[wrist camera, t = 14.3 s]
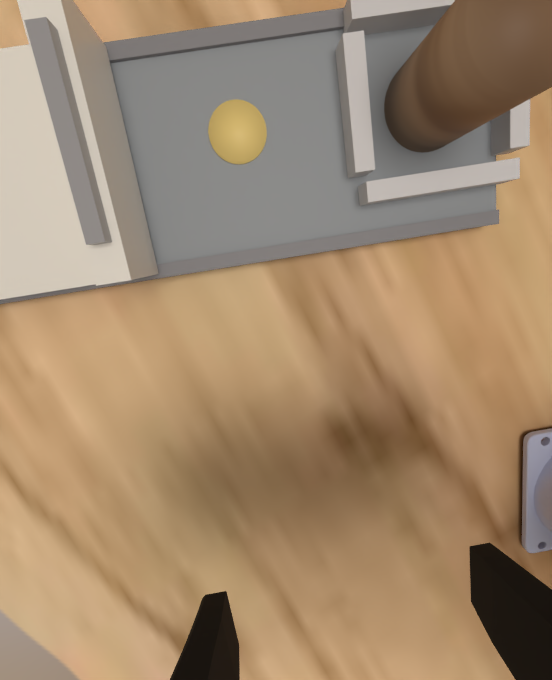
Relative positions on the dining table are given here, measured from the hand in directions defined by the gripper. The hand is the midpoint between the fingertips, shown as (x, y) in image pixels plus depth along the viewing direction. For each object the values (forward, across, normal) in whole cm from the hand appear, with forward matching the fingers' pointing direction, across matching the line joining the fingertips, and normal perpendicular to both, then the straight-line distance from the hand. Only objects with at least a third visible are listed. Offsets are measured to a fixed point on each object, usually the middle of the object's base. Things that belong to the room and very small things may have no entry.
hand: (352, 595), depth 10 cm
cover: (+8, +9, -14) cm, 19 cm away
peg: (+8, -7, -15) cm, 18 cm away
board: (+9, +3, -14) cm, 17 cm away
